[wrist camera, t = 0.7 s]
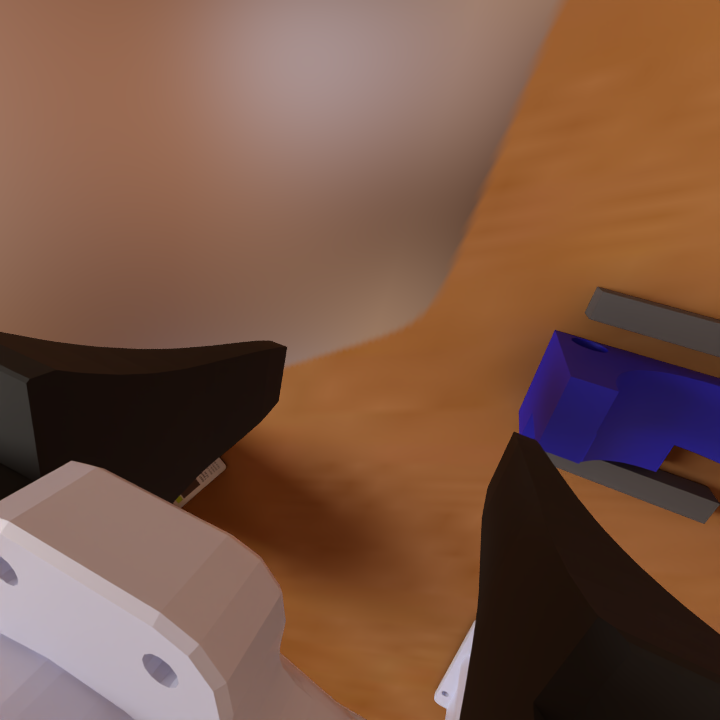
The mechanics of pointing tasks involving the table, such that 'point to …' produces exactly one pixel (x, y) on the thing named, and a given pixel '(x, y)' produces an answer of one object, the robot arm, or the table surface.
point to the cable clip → (618, 405)
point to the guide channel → (669, 328)
